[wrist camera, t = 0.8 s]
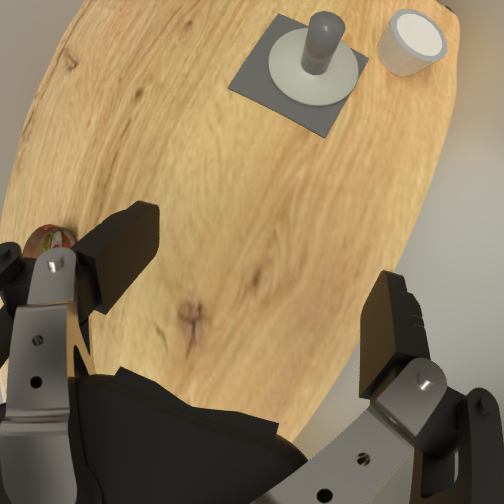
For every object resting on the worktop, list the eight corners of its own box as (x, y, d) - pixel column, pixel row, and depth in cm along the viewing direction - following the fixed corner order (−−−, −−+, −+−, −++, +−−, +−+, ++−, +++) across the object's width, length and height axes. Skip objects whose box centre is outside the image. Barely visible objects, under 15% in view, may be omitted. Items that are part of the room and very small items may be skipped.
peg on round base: (252, 80, 31) (245, 40, 21) (293, 19, 29) (299, -30, 19) (333, 123, 31) (357, 96, 21) (369, 58, 29) (398, 19, 19)
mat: (228, 88, 31) (227, 87, 31) (278, 14, 29) (278, 13, 29) (324, 138, 32) (325, 137, 31) (368, 59, 29) (369, 58, 29)
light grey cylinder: (391, 26, 28) (411, 0, 21) (430, 64, 29) (457, 44, 22) (361, 51, 29) (378, 24, 22) (402, 91, 30) (428, 72, 23)
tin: (71, 328, 38) (37, 353, 30) (55, 320, 38) (20, 343, 30) (81, 224, 35) (39, 233, 27) (63, 218, 35) (21, 226, 27)
